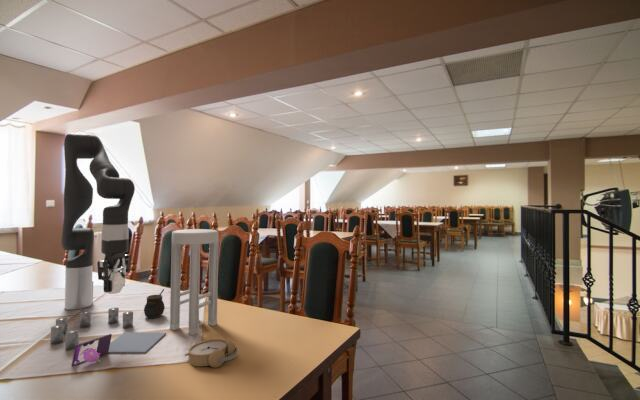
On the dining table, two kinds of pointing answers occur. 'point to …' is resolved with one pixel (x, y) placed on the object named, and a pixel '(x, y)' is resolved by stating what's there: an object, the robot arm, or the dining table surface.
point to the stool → (193, 277)
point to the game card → (92, 350)
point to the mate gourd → (154, 306)
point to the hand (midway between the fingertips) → (114, 289)
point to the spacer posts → (85, 321)
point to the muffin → (117, 283)
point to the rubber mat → (134, 342)
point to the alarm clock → (211, 352)
